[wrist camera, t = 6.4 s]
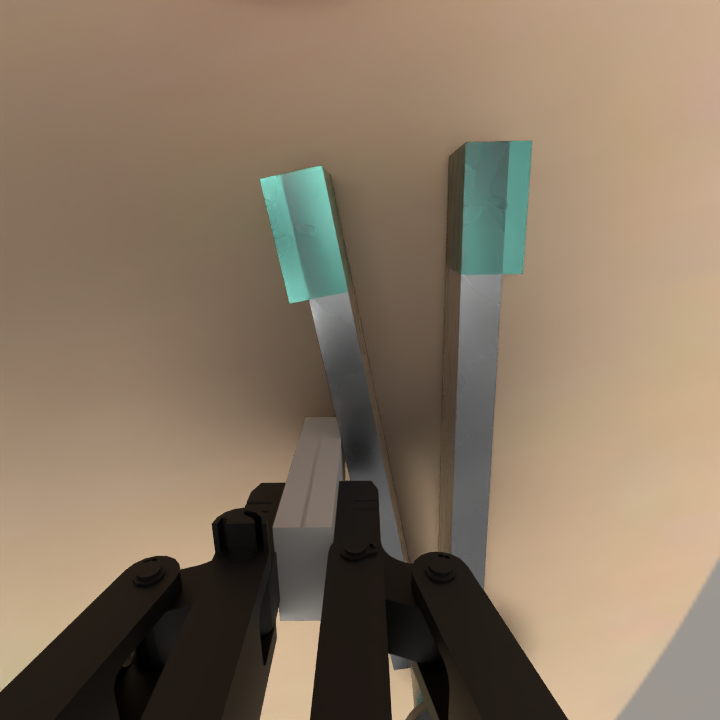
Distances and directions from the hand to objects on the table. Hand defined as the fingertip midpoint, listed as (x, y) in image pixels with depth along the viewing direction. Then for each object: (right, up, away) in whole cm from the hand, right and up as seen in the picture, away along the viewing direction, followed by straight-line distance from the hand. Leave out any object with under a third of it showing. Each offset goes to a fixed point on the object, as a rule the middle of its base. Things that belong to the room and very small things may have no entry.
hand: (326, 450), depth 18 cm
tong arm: (+1, +1, +1) cm, 2 cm away
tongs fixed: (+5, -1, +1) cm, 5 cm away
